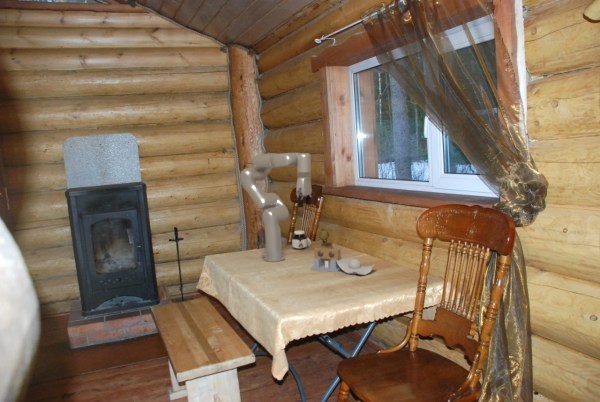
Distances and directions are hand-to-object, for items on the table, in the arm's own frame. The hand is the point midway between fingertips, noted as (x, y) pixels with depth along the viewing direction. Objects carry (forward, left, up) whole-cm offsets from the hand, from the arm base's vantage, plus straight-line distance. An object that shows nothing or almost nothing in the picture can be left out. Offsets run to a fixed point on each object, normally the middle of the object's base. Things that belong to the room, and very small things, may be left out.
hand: (304, 205), depth 267 cm
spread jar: (-24, +39, -34) cm, 57 cm away
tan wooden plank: (+15, -5, -28) cm, 32 cm away
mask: (+32, -6, -34) cm, 47 cm away
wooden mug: (+7, +11, -34) cm, 37 cm away
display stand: (+15, -5, -34) cm, 37 cm away
